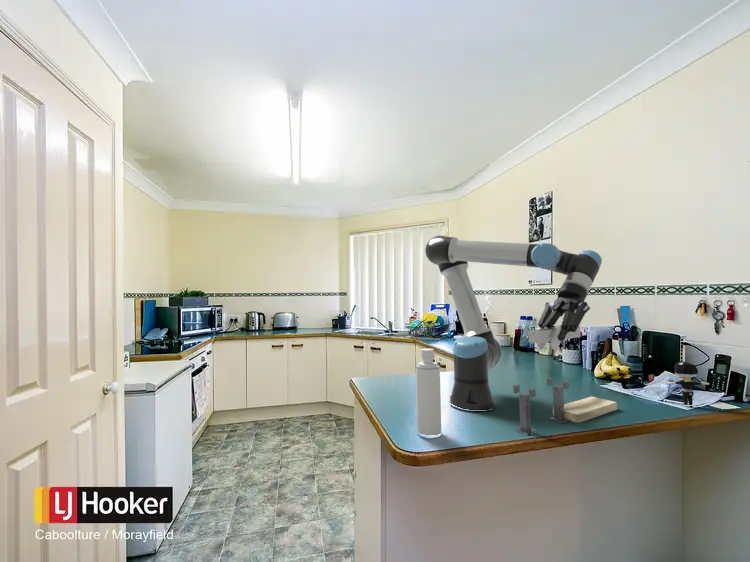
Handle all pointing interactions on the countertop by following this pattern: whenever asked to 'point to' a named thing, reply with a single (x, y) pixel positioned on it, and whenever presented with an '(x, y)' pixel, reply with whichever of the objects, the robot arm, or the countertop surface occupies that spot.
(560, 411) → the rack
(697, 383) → the toy
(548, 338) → the rail
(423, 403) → the grey bottle
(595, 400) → the board
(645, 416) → the countertop surface
